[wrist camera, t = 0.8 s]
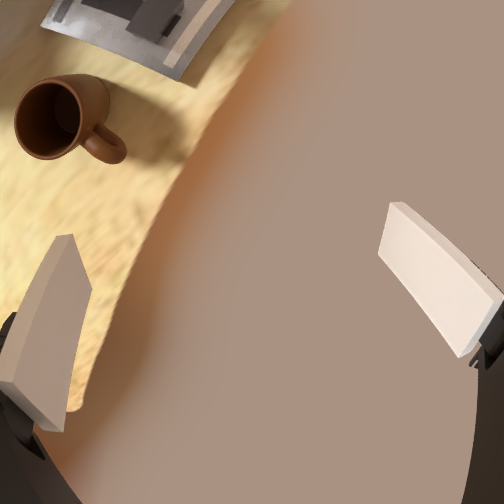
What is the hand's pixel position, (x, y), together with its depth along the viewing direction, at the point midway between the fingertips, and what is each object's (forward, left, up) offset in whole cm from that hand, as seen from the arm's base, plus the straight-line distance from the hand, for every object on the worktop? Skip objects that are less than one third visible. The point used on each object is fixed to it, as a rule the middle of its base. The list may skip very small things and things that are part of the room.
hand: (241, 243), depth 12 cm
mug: (-9, -9, -25) cm, 28 cm away
